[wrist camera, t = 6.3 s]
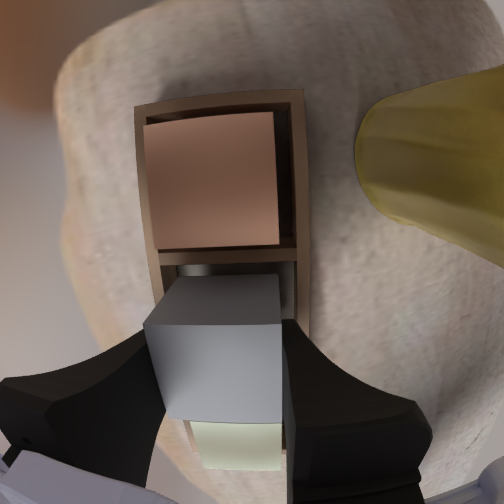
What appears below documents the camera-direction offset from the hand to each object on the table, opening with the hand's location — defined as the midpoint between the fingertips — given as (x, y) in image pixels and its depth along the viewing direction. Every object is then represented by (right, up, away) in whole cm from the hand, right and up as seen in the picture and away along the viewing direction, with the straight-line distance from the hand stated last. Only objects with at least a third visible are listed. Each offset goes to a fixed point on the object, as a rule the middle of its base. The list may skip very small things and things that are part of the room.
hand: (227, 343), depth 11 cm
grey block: (0, +1, +1) cm, 2 cm away
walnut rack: (0, +1, +3) cm, 3 cm away
